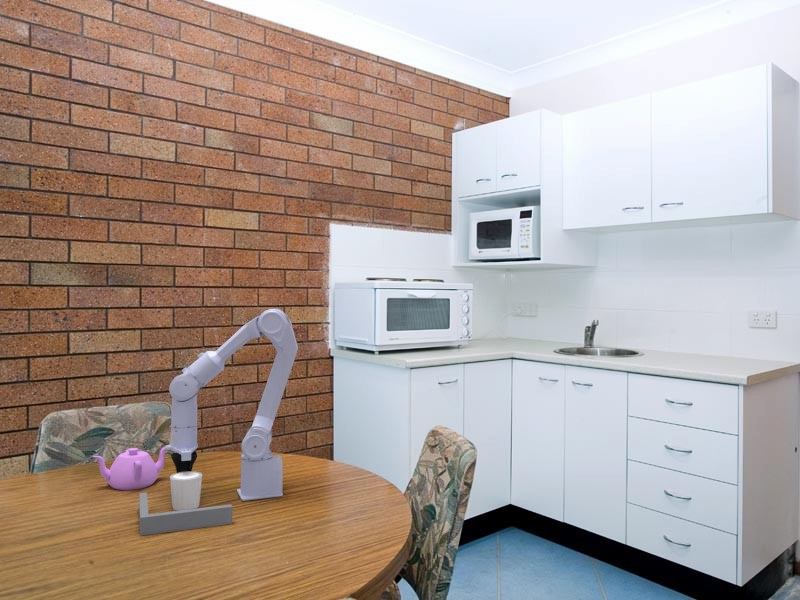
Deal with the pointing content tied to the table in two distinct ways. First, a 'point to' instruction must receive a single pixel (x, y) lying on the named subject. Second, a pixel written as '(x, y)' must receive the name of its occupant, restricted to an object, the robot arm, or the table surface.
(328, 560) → the table surface
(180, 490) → the shot glass
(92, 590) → the table surface
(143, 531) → the l-shaped bracket
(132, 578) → the table surface
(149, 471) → the teapot
